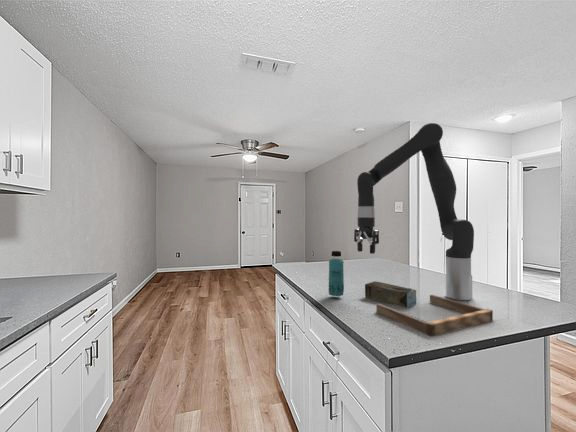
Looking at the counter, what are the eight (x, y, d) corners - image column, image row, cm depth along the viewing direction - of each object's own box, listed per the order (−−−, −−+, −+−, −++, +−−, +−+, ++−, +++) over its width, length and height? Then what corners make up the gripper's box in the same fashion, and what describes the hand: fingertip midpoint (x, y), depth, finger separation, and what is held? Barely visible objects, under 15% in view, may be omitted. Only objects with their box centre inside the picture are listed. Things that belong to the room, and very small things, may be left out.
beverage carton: (407, 309, 106) (407, 291, 106) (363, 298, 120) (363, 282, 120) (417, 304, 111) (417, 288, 111) (374, 294, 125) (374, 280, 125)
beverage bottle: (326, 295, 123) (326, 250, 123) (341, 295, 124) (341, 249, 124) (330, 300, 117) (330, 252, 117) (346, 299, 117) (345, 251, 117)
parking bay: (432, 302, 113) (432, 293, 113) (492, 320, 93) (492, 310, 93) (376, 312, 101) (376, 302, 101) (431, 336, 81) (431, 324, 81)
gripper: (383, 216, 123) (383, 253, 123) (362, 216, 136) (362, 250, 136) (370, 216, 120) (370, 254, 120) (349, 216, 133) (349, 251, 133)
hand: (365, 252), depth 128 cm, fingers open, 8 cm apart
